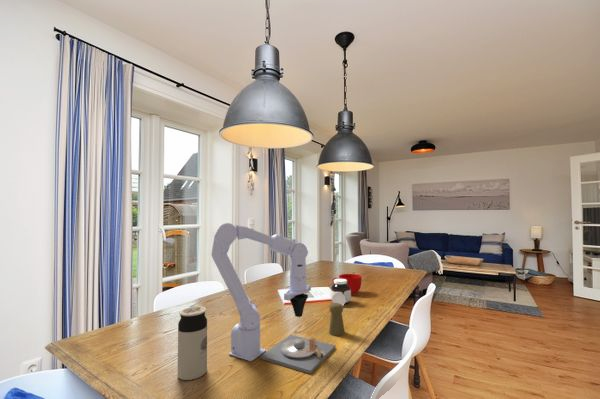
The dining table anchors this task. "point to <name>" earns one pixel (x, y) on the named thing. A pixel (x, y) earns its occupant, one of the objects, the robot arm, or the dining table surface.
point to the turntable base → (298, 364)
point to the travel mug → (192, 343)
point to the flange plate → (300, 349)
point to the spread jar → (340, 292)
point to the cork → (336, 320)
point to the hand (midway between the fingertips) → (298, 316)
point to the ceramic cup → (351, 281)
